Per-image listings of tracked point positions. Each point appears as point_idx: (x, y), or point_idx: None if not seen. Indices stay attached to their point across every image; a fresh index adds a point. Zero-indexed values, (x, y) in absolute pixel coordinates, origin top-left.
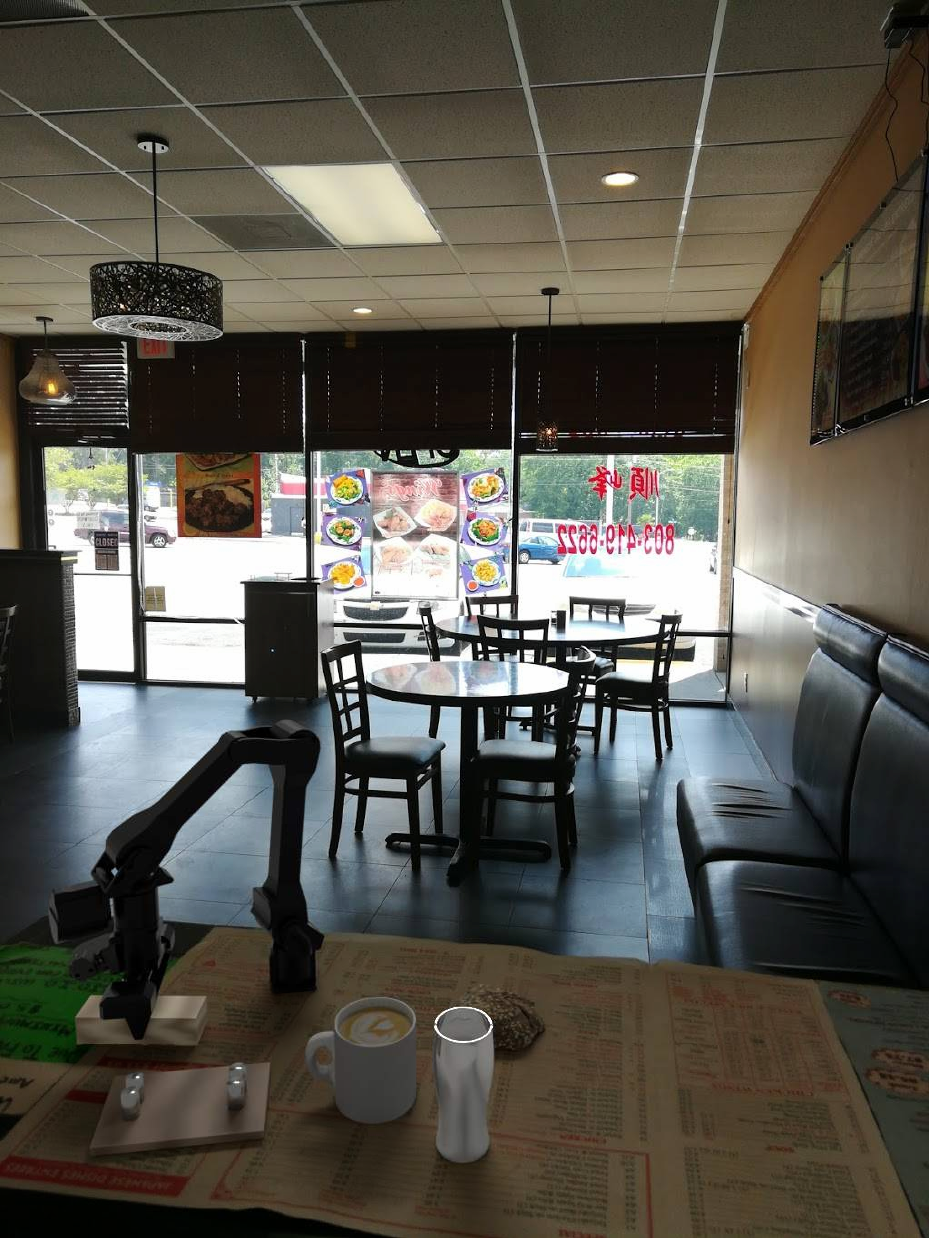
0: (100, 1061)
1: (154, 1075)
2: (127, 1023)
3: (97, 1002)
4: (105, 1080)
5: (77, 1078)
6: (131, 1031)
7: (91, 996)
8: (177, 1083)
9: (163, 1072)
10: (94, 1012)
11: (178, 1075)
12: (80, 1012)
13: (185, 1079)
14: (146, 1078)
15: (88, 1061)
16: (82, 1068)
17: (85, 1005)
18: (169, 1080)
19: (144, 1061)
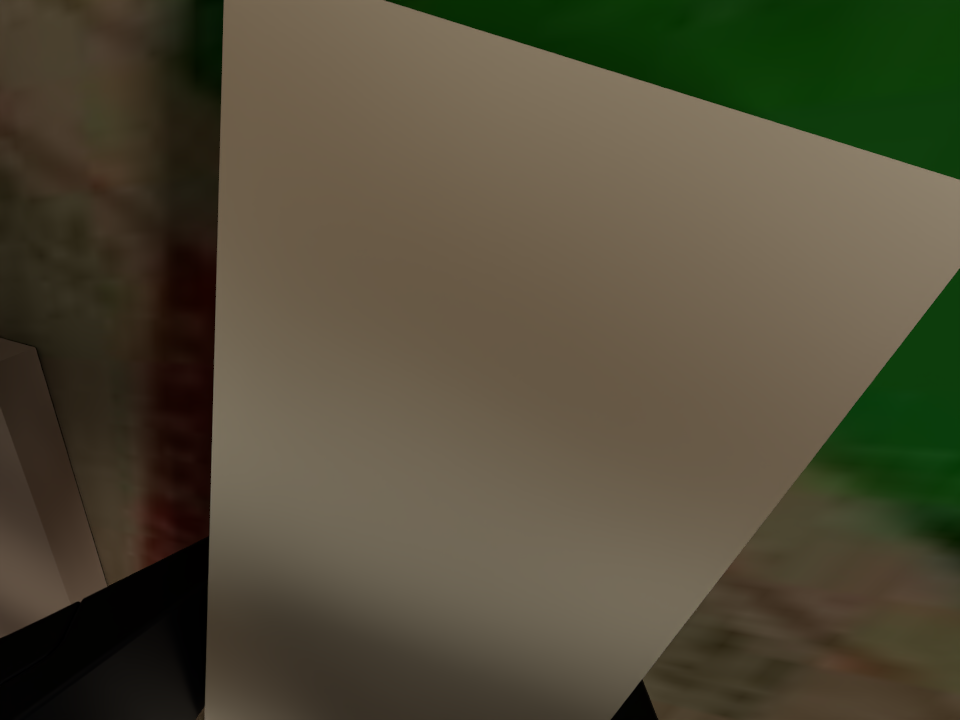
0: (203, 263)
1: (29, 532)
2: (89, 596)
3: (611, 340)
4: (52, 298)
5: (41, 116)
6: (199, 544)
7: (937, 216)
8: (5, 592)
9: (55, 565)
10: (330, 297)
11: (50, 604)
12: (368, 43)
13: (30, 619)
14: (8, 500)
15: (203, 177)
16: (133, 140)
17: (602, 115)
18: (13, 573)
19: (202, 489)
